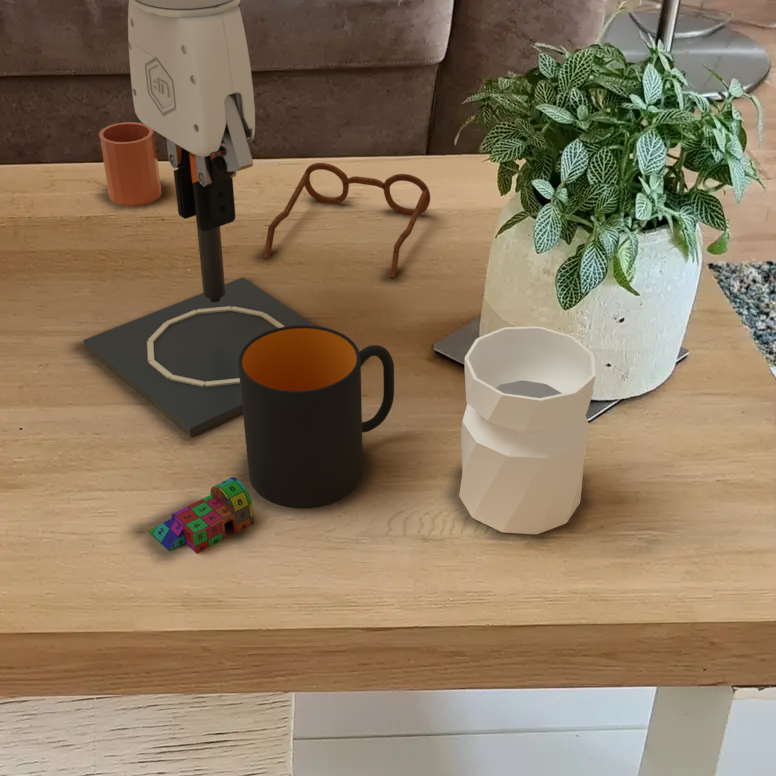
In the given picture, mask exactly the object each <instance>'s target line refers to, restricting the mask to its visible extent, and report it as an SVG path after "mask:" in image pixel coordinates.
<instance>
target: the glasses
mask: <svg viewBox="0 0 776 776" xmlns="http://www.w3.org/2000/svg"><path fill="white" fill-rule="evenodd" d="M318 170H320V171H321V170H324V171H327V172H331V173H333V174H334V175H335V176H337V177H338V179H340V181H341V183H342V184H341V185H342V193H341V194H339V196H338V195H337V196H335V197H333V196H332V197H330V196H325V195H322V194H320V193H319V192H317V191H316V190H315V189H314V188H313V186H312V184H311V183H312V182H311V174H312V173H313V172H315V171H318ZM396 182H409V183H412V184H414V185H416V186H417V187H418V188H419V189H420V190H421V193H420V196H419V199H418V200H417V203H416V205H415V208H407V207H403V206H402V205H399V204H398V203H396V202H395V200H394V199H393V197H392V194H391V186H392V185H393V184H394V183H396ZM351 184H358V185H366V186H373V187H378V188H380V189H382V190H383V194H384V198H385V201H386V203H387V205H388V206H389V207H390V209H392V210H393V211H395V212H396V213H398V214H401V215H407V216H411V217H410V220H409V222H408V224H407V226H406V228H405V229H404V230H403V232H402V233H401V234H400V235H399V237H398V238H397V240H396V242H395V243H394V245H393V252H392V260H391V269H390V275H389V277H390V279H396V277H397V272H398V264H399V256H400V249H401V247H402V245H403V244H404V242H405V240H406V239H408V237H410V235H411V233H412V231H413V229H414V228H415V227H414V226H415V224H416V222H417V221H418V217H419V215H421V214H424V213H425V212H426V211H427V210H428V208H429V206H430V203H431V192H430V189H429V188H428V186H427V184H426V183H425V182H424V181H423V180H422V179H420V178H419V177H418V176H415V175H412V174H407V173H396V174H393V175H392V176H391V175H390V176H389V177H388V178H386V179H385V181H384V182H383V181H382V180H380V179H377V178H374V177H373V178H371V177H365V176H357V175H355V176H350V177H348V175H347V174H346V172H344V171H343V170H342V169H340V168H339V167H337V166H335V165H334V164H330V163H325V162H315V163H312V164H310V165H308V167H307V168H306V169H305V171H304V173H303V175H302V177H301V179H300V180H299V181H298V184H297V185H296V187H295V190H294V192H293V193H292V194H291V196H290V199H289V200H288V202H287V204H286V206H285V208H284V210H283V211H281V212H280V213H278V214H277V215H276V216H275V218H274V219H273V220H272V221H271V223H270V224H269V225H268V228H267V235H266V241H265V247H264V252H263V259H266V260H268V259H269V258H271V254H272V248H273V242H274V236H275V230H276V228H277V227H278V226H279V225H280V224H281V222H282V221H283V220H285V219H286V218H288V217H289V215H290V213H291V212H292V210H293V208H294V206H295V204H296V202H297V201H298V199H299V197H300V195H301V193H302V192H303V189H304V188H305V190H306V192H307V193H308V194H309V195H310V196H311V197H312V198H313V199H314V200H316V201H317V202H320V203H324V204H331V205H337V204H341V203H343V202H344V201H345V200H346V199H347V197H348V194H349V189H350V185H351Z"/></svg>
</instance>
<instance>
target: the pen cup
mask: <svg viewBox="0 0 776 776" xmlns="http://www.w3.org/2000/svg"><path fill="white" fill-rule="evenodd" d="M98 138H99V144H100V150H101V157H102V162H103V167H104V174H105V175H104V176H105V181H106V185H107V193H108V197H109V200H110V201H111V202H113V203H114V204H116V205H120V206H125V207H138V206H144V205H148V204H151V203H154V202H155V201H157V200H159V198H161V195H162V192H163V191H162V183H161V176H160V169H159V168H160V167H159V162H158V154H157V147H156V139H155V131H154V130H152V129H151V128H149V127H148V126H146V125H145V124H144V123H142V122H134V121H131V122H130V121H125V122H118V123H117V122H116V123H113V124H110V125H107V126H106V127H104V128H101V130H100V131H99V133H98Z"/></svg>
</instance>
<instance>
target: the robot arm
mask: <svg viewBox="0 0 776 776" xmlns="http://www.w3.org/2000/svg"><path fill="white" fill-rule="evenodd" d="M240 3H241V0H128V9H127V14H128V15H127V36H128V37H127V38H128V41H127V42H128V57H129V58H128V59H129V71H130V82H131V84H130V85H131V92H132V101H133V108H134V113H135V115H136V117H137V119H138V120H139V121H140V123H142V124H145V125H146V126H148V127H149V128H151V129H152V130H153V132H156V133H157V134H159V135H161V136H162V138H163V139H164V141H165V143H166V148H167V159H168V162H169V165H170V166H171V167H172V168H173V169H174V170H173V178H174V186H175V196H176V197H175V198H176V204H177V214H178V215H179V216H180V217H181V218H182V219H186V220H187V219H190V218H192V217H195V218H196V217H197V222H196V227H197V226H198V228H199V229H200V230H202V231H204V232H205V231H208V230H211V229H214V228H217V227H219V226H220V227H222V226H226V225H228V224H231V223H233V222H234V221H235V220H236V205H235V194H234V181H233V178H236V176H237V172H241V171H243V170H246V169H249V168H252V167H253V166H254V160H253V156H252V154H251V150H250V145H249V144H250V143H252V141H254V138H255V132H256V108H255V95H254V86H253V85H254V83H253V77H252V68H251V60H250V54H249V47H248V42H247V36H246V32H245V31H246V30H245V25H244V22H243V21H244V20H243V17H242V12H241V8H240V6H238V5H240ZM218 152H220V155H217V156H215V157H214V158H213V160H212V161H211V162H210V154H212V153H215V154H216V153H218ZM189 153H192V154H194V155H195V158H196V168H197V177H198V182H194V183H192V177H191V166H190V156H189ZM193 187H194V191H193ZM194 197H195V201H194ZM195 207H196V211H195Z"/></svg>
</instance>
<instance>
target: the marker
mask: <svg viewBox="0 0 776 776" xmlns="http://www.w3.org/2000/svg"><path fill="white" fill-rule="evenodd" d="M189 156H190V166H191V177H192V183H194V182H198V177H197V168H196V158H195V155H194V154H192V153H189ZM214 157H216V153H212V154H210V162H211V161H212V160H213V158H214ZM193 191H194V187H193ZM194 201H195V197H194ZM195 211H196V207H195ZM195 220H196V223H197V217H196V216H195ZM196 231H197V241H198V242H197V243H198V251H199V262H200V263H199V264H200V272H201V273H200V274H201V284H202V293H203V294H204V296H205V297H207V298H209V300H210V301H211V302H219V301H220V298H221V297H223V296H224V295H225V284H226V282H225V270H224V269H225V268H224V259H223V257H224V256H223V246H222V244H223V243H222V234H221V233H222V232H221V226H219V227H217V228H214V229H211V230H208V231H205V232H204V231H202V230H200V229H199V228H198V226H197V225H196Z"/></svg>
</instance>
